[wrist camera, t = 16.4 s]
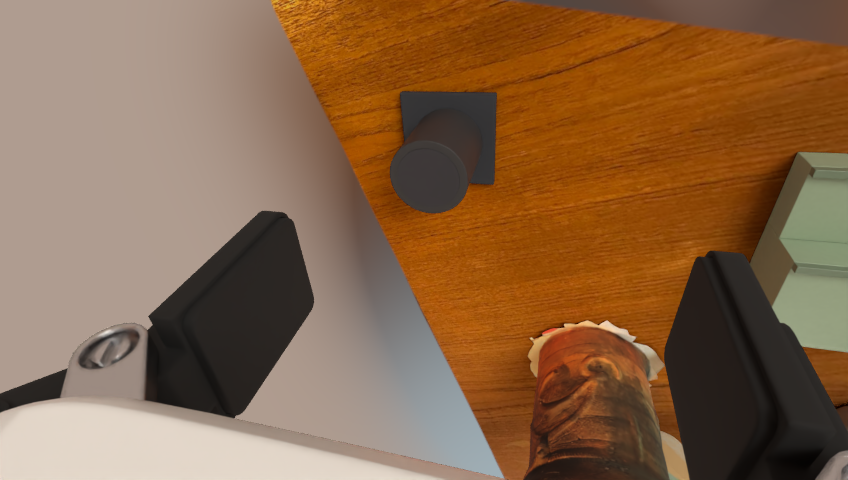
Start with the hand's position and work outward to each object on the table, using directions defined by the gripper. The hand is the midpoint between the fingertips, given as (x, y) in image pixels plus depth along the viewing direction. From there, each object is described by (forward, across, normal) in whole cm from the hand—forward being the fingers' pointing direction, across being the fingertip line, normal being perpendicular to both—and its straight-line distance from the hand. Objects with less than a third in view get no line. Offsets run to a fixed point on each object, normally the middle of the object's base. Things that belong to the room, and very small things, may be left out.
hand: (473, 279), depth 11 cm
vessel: (+28, -8, +33) cm, 44 cm away
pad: (+28, +7, +8) cm, 30 cm away
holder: (+28, +7, +8) cm, 30 cm away
